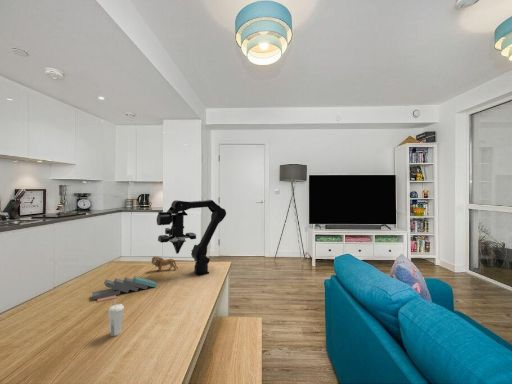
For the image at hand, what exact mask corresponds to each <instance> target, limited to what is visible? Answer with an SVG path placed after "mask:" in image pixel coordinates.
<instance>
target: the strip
mask: <svg viewBox="0 0 512 384" xmlns="http://www.w3.org/2000/svg"><path fill="white" fill-rule="evenodd" d="M115 299H117V295H114V296H109V297H105V298H100V299H96V302H97V303H100V302H106V301H109V300H110V301H111V300H115Z"/></svg>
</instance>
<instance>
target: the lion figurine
mask: <svg viewBox="0 0 512 384" xmlns="http://www.w3.org/2000/svg"><path fill="white" fill-rule="evenodd" d="M151 264H152V265H153V266H155V267H156V268H158V269H157V272H158V273H161V272H162V267H166V266H168V265H169V266H170V267H169V268H168V270H171V269H172V268H173V271H176V270H177V269H179V267H177V263H176V261H175V259H174V258H168V259H166V258H165V259H164V258H162V257H160V256H157V255H155V256H152V257H151Z"/></svg>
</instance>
